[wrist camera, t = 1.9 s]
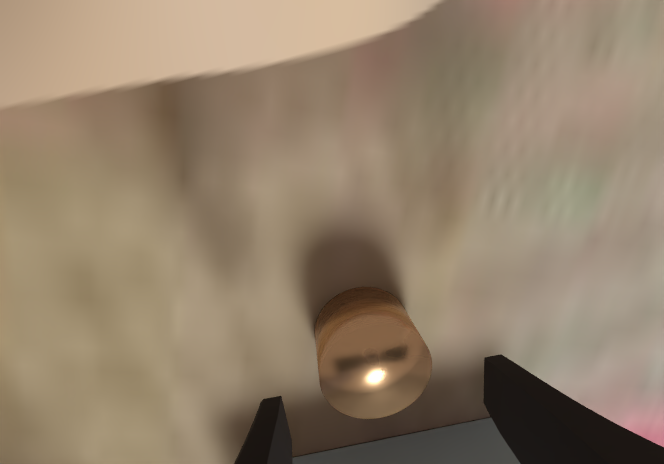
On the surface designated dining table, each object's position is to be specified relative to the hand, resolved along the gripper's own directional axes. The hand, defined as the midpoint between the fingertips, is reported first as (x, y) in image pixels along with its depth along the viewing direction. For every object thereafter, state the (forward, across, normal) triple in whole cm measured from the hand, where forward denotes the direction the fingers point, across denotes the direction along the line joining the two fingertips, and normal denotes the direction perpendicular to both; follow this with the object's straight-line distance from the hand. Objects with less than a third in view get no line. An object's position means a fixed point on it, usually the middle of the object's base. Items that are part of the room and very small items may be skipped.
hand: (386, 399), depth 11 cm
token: (+4, 0, 0) cm, 4 cm away
